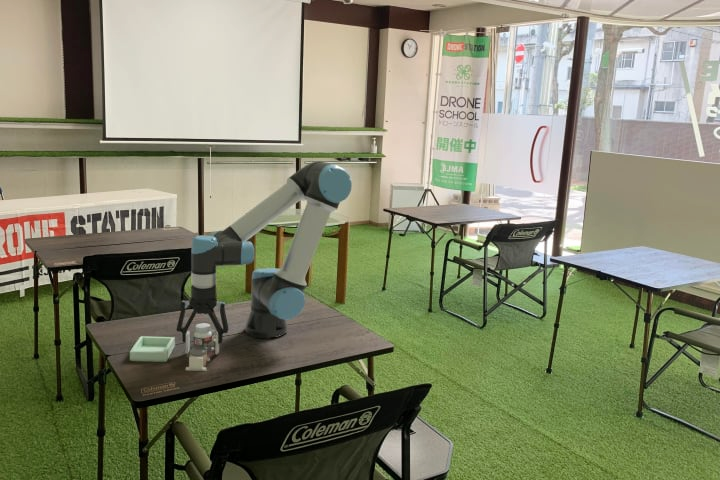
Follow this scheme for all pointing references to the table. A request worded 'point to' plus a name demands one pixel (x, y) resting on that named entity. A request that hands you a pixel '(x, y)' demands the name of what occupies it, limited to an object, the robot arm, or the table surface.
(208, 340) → the pill bottle
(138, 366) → the table surface
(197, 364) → the cream flat pieces
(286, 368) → the table surface
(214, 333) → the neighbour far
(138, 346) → the tray
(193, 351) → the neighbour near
